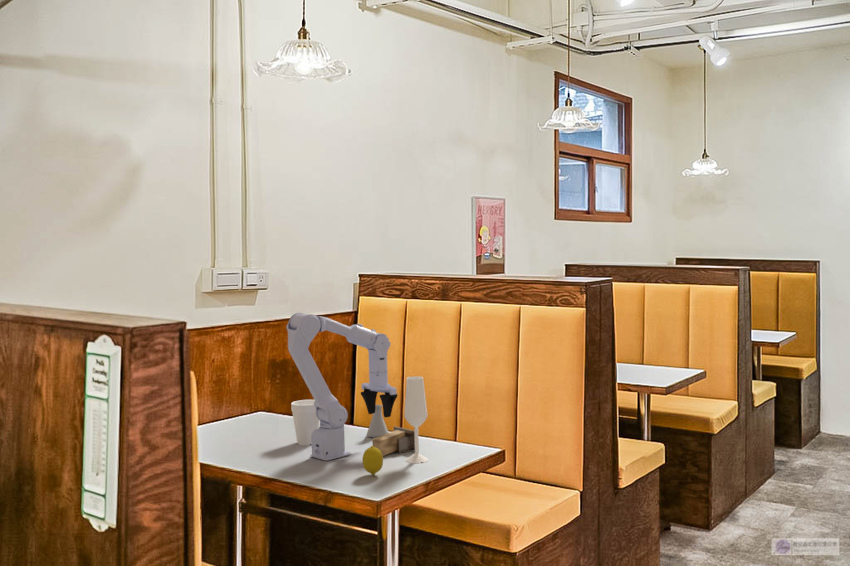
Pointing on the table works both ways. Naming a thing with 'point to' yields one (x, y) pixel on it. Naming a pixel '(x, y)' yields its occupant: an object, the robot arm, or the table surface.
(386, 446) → the wooden block
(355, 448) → the table surface
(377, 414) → the flask
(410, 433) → the bracket
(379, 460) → the lemon
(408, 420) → the champagne flute
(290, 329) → the robot arm
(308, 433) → the foam cup
